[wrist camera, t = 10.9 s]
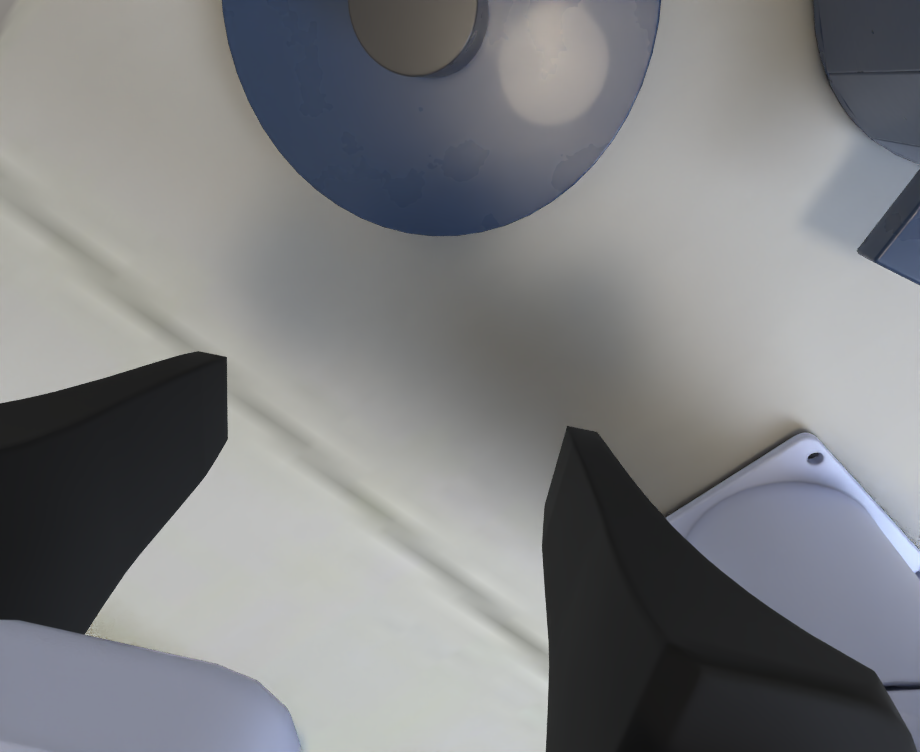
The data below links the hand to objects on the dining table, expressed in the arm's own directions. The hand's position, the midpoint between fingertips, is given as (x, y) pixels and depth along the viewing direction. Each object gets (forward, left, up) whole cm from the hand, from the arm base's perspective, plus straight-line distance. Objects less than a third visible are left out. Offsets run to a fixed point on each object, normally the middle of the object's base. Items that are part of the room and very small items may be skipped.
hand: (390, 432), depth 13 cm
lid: (+6, -6, -9) cm, 12 cm away
